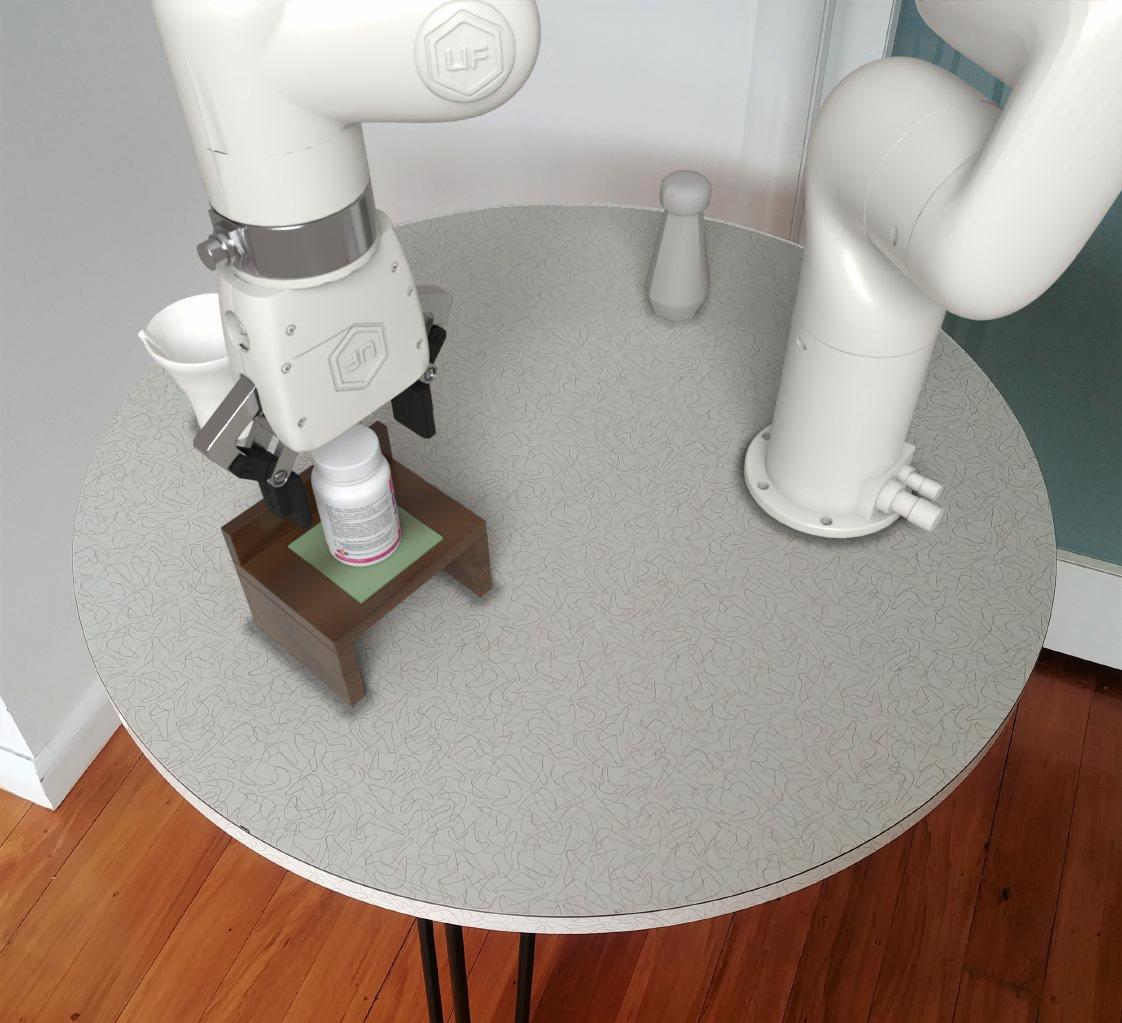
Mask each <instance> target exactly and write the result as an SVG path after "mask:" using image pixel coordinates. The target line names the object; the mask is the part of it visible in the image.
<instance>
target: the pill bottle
mask: <svg viewBox="0 0 1122 1023" xmlns="http://www.w3.org/2000/svg"><path fill="white" fill-rule="evenodd" d="M310 456H311V461H312V465H314V468H313V470H312V474H311V483H312V488H313V492H314V496H315V500H316V503H317V507H318V511H319V515H320V519H321V523H322V527H323V531H324V535H325V539H326V543H327V546H328V548H329V551H330V552H331V554H332V555H333V556H334V557H335V558H336V559H337V560H339V561H340V562H342V563H344V564H347V565H351V566H369V565H373V564H376V563H378V562H381V561H383V560H385V559H386V558H388V557H389V556H390V555H392V554H393V553H394V552H395V550H396V549H397V547H398V546H399V543H400V540H401V526H400V521H399V516H398V511H397V505H396V499H395V493H394V487H393V482H392V476H391V470H390V466H389V463H388V461H387V460H386V458H385V457H384V456H383V455H382V452H381V448H380V444H379V440H378V437H377V435H376V434H375V432H374V431H373V430H372V429H370V428H369V427H368V426H367V425H366V424H362V423H356V424H355V425H353V426H352V427H351V428H349V429H348V430H346V431H345V432H343V433H342V434H340V435H339V436H337V437H336V438H334V439H333V440H331V441H329V442H328V443H326V444H325V445H323V446H321V447H319V448H317V449H315V450H312V451H310Z"/></svg>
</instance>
